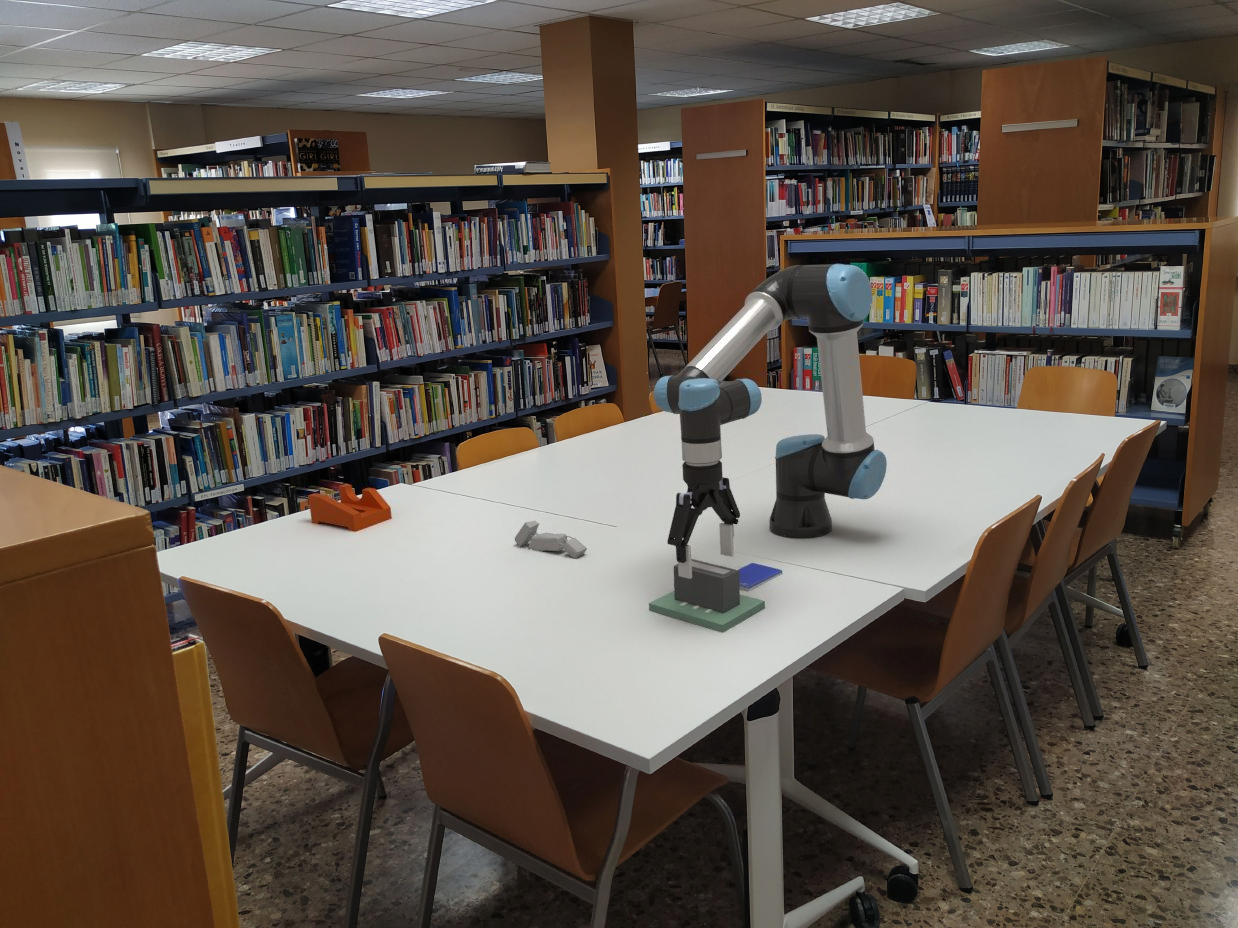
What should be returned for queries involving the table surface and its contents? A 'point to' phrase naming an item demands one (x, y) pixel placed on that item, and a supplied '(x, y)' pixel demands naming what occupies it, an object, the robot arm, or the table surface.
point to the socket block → (709, 586)
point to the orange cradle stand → (350, 508)
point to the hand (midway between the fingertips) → (706, 565)
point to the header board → (707, 612)
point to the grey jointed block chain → (548, 540)
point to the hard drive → (756, 575)
